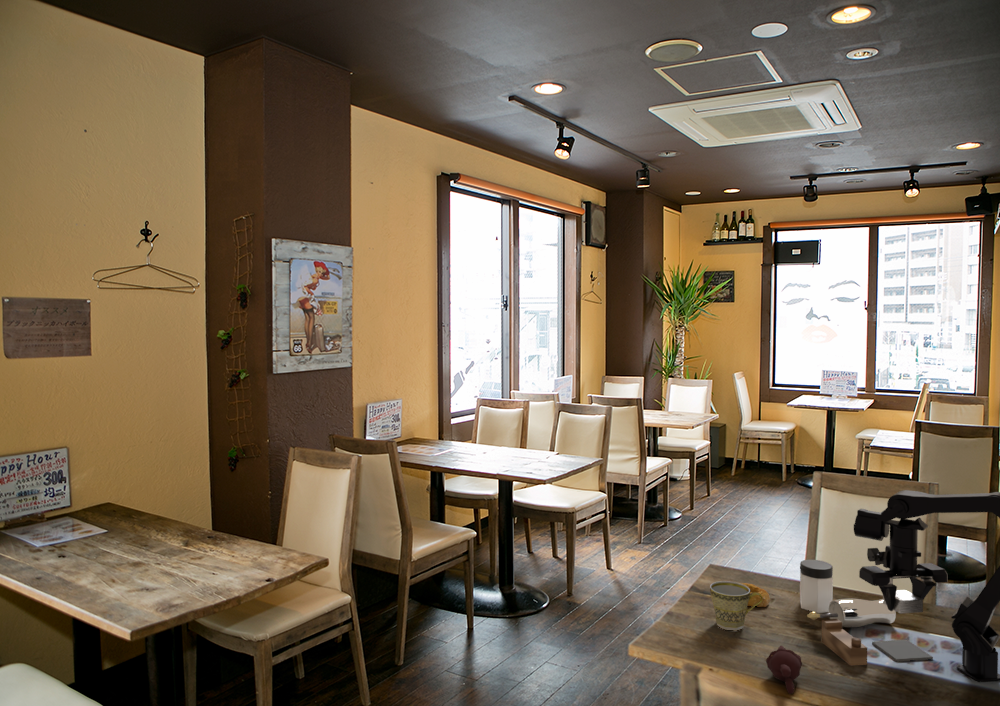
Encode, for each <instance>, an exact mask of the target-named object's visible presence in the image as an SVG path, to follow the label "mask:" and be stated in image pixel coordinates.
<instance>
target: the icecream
mask: <svg viewBox="0 0 1000 706" xmlns="http://www.w3.org/2000/svg"><path fill="white" fill-rule="evenodd" d="M765 662H766V663H765V664H766V665H767V668H768V670H770V673H772V675H773V676H772V677H774V678H776V679H777V680H779V681H781V682H784V683H785V688H786V690H787V691H786V692H787V693H788V694H789V695H792V694H793V693H794V692H795V684H794V681H795V680H796V679H797V678H798V677H799V676H800V674H801V673H800V672H801V668H802V665H803V663H802V657H801V656H800V655H798V654H797V653H795V652H794V651H793V650H790V649H786V647H784V646H783V645H779V647H778V648H777V649H776V650H774V651H771V652H770V653H769V654H768V657H767V658H766V660H765Z"/></svg>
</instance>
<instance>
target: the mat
mask: <svg viewBox="0 0 1000 706" xmlns="http://www.w3.org/2000/svg"><path fill="white" fill-rule="evenodd" d="M871 645H872V646H873V647H876V648H877V649H878V650H880V651H881V652H882V653H884V654H885V655H886V656H888V657H889V658H891V659H892V660H893V661H894V662H896V663H897V662H898V663H899V661H900V662H911V661H910V660H916V661H928V659H932V660H934V659H933V658H934V657H933V656H932V655H931V654H929V653H928V652H926V651H924V650H923V649H922V648H920V647H919V646H917V645H915V644H914V643H913V642H911V641H910V640H908V639H895V640H879V641H876V640H875V641H871Z"/></svg>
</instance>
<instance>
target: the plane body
mask: <svg viewBox="0 0 1000 706" xmlns="http://www.w3.org/2000/svg"><path fill="white" fill-rule="evenodd" d="M821 643H822V644H823V645H825V646H826V647H827V648H828V649H829V650H831V651H832V652H833V653H835V654H836V656H838V657H839V658H841V660H843V661H845V662H846V663H847V664H848V665H849V666H852V667H853V666H867V665H868V647H867V646H866V645H865V644H863V643H862V639H861V638H858V637H854V636H853V635H851V634H850V633H849V632H847V631H846V630H845V629H843V627H842V622H841V621H840V620H838V619H830V618H828V619H827V618H823V619H821Z"/></svg>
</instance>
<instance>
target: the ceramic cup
mask: <svg viewBox="0 0 1000 706" xmlns="http://www.w3.org/2000/svg"><path fill="white" fill-rule="evenodd" d="M740 583H741V582H737V581H727V580H726V581H725V580H720V581H714V582H712V583H710V585H709V591H710V598H711V601H712V605H713V608H714V615H715V622H716V626H717V625H718V626H720V627H722V628H724V629H727V630H739V629H742V628H743V629H744V625H745V620H746V615H748V613H750V611H752V610H753V609H755V608H756V607H755V606H757V605H758V604H760V603H761V602H762V596H761V594H760V593H758V592H753V593H751V594H750V589H749V588H748V587H747V586H745V585H743V584H740ZM755 595H759V596H760V597H761V600H760V601H759V602H758V603H756V604H755V605H753V606H752V607H749V608H748V607H747V605H748V602H749V600H750V599H751V597H752V596H755ZM743 629H742V630H743ZM739 631H740V630H739Z"/></svg>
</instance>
